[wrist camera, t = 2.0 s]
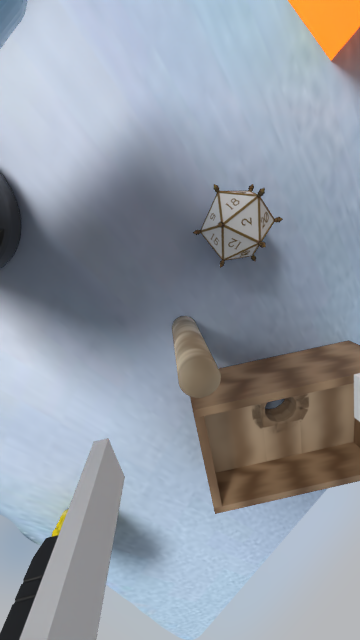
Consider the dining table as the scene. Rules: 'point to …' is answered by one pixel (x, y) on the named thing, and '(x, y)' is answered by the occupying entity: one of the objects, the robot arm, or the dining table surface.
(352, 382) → the box
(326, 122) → the dining table surface
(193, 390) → the peg
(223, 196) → the game die
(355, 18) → the orange juice
